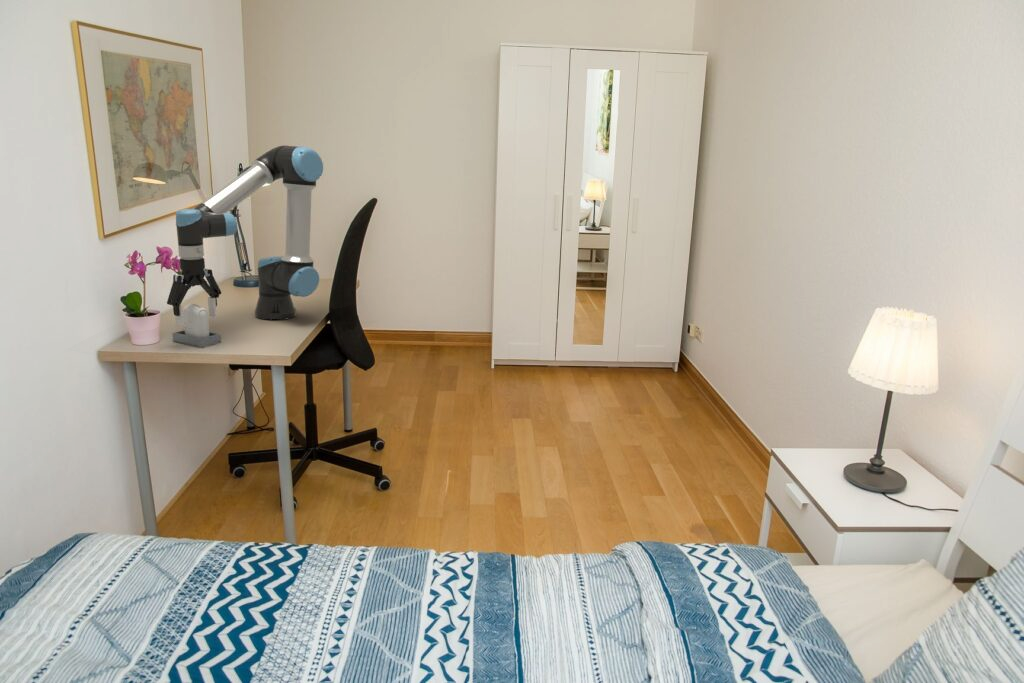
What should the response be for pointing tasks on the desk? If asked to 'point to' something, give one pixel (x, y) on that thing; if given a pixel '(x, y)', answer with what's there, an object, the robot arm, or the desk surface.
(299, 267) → the robot arm
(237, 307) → the desk surface
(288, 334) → the desk surface
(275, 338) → the desk surface
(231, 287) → the desk surface
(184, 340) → the grey rectangular tray
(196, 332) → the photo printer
